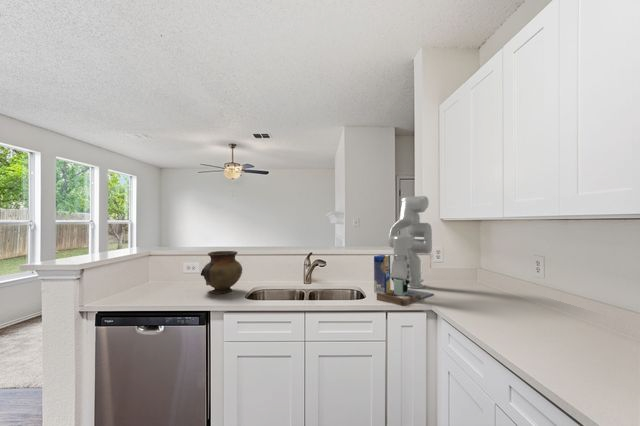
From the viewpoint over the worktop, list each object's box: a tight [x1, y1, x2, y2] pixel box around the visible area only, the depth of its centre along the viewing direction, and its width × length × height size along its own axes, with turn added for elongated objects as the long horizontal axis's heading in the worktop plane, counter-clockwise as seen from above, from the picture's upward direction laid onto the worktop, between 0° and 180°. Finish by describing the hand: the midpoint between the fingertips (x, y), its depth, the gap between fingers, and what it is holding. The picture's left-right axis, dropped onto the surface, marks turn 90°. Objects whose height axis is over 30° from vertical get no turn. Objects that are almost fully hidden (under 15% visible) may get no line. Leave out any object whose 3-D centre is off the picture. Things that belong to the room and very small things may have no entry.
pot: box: [200, 250, 243, 295], centre depth 189 cm, size 25×24×25 cm
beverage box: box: [373, 254, 391, 294], centre depth 190 cm, size 7×11×22 cm, turn 150°
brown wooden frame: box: [376, 290, 422, 306], centre depth 169 cm, size 19×16×4 cm
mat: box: [403, 288, 435, 300], centre depth 181 cm, size 14×16×1 cm
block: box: [393, 279, 409, 297], centre depth 171 cm, size 6×5×8 cm
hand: (400, 290), depth 171 cm, fingers closed on block, 5 cm apart
